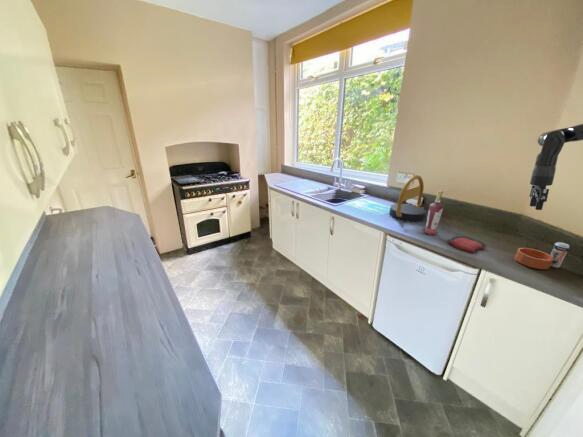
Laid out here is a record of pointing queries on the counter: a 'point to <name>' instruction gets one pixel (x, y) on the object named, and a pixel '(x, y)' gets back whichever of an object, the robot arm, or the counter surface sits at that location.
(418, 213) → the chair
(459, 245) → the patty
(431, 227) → the liquor
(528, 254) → the bowl
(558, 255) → the beer can
